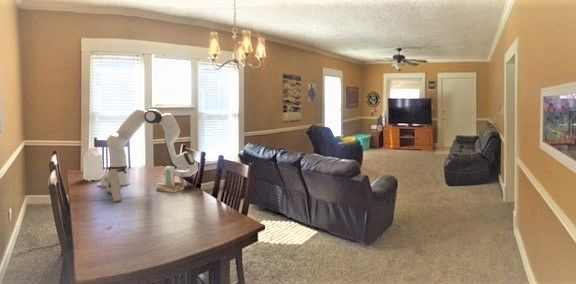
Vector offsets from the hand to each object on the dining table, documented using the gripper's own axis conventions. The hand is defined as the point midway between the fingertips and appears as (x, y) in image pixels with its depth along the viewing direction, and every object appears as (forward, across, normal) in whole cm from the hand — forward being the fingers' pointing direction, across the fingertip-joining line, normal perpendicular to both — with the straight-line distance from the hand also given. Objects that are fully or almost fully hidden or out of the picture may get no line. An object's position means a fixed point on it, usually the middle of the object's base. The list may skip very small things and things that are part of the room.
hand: (169, 174), depth 287 cm
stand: (0, 0, +11) cm, 11 cm away
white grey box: (0, 0, +10) cm, 10 cm away
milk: (-7, -83, +11) cm, 84 cm away
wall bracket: (+31, -22, +11) cm, 39 cm away
